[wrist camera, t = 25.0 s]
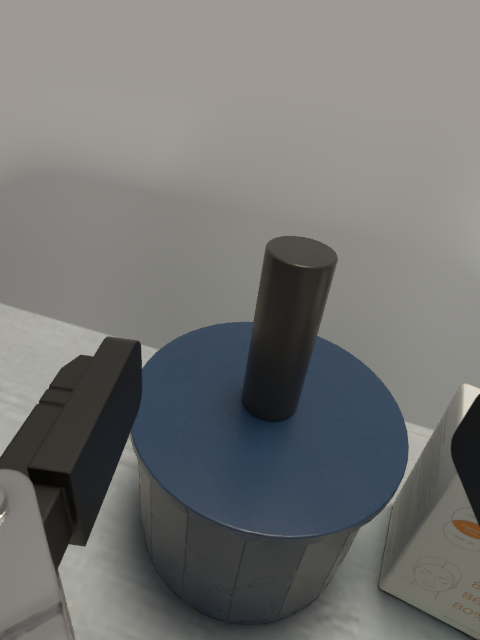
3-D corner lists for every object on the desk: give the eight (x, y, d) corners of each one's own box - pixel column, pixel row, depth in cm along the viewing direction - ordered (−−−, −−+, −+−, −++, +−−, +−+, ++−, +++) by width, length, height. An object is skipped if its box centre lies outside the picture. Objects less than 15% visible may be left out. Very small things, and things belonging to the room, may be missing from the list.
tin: (99, 563, 21) (81, 459, 16) (196, 409, 30) (204, 313, 25) (322, 672, 18) (381, 587, 13) (354, 466, 27) (395, 372, 23)
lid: (223, 637, 12) (268, 450, 7) (91, 377, 20) (68, 206, 15) (456, 461, 19) (565, 299, 14) (284, 318, 27) (313, 183, 22)
